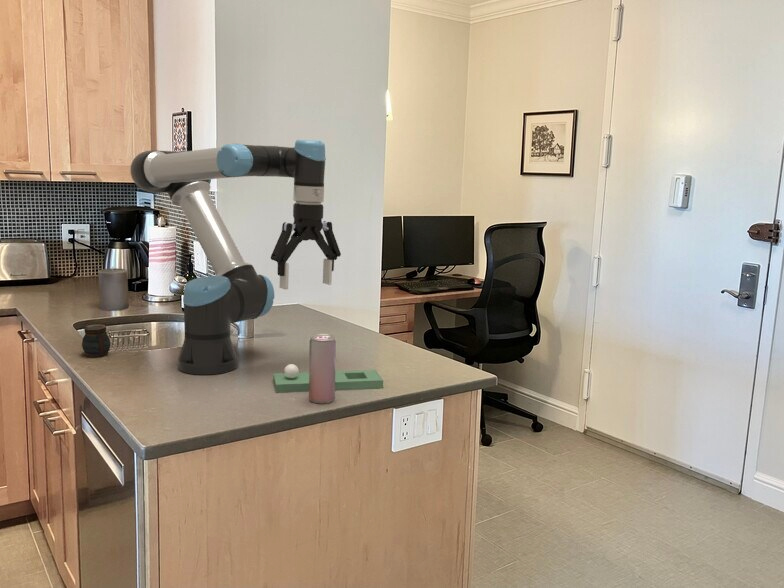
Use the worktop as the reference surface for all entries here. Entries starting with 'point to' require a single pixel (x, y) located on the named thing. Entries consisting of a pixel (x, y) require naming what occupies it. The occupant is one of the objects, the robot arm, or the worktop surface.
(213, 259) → the robot arm
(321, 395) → the beverage can
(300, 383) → the green rectangular board
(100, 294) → the pillar candle
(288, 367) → the white ball
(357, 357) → the worktop surface
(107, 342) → the mate gourd
